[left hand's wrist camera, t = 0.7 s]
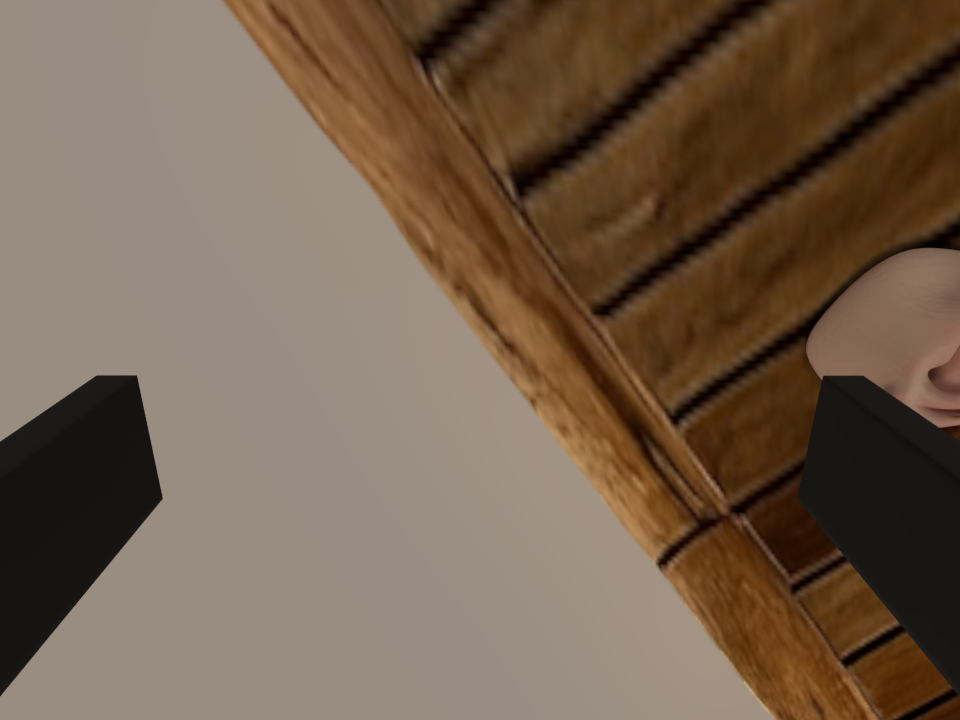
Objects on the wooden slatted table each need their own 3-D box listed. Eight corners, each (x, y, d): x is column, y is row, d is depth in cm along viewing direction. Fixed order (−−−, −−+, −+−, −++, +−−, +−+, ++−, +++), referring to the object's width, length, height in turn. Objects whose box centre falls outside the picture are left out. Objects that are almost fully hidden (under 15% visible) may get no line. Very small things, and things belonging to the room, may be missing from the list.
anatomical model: (810, 409, 36) (932, 216, 32) (778, 382, 40) (884, 206, 36) (1002, 482, 38) (1137, 308, 34) (954, 450, 42) (1072, 290, 38)
